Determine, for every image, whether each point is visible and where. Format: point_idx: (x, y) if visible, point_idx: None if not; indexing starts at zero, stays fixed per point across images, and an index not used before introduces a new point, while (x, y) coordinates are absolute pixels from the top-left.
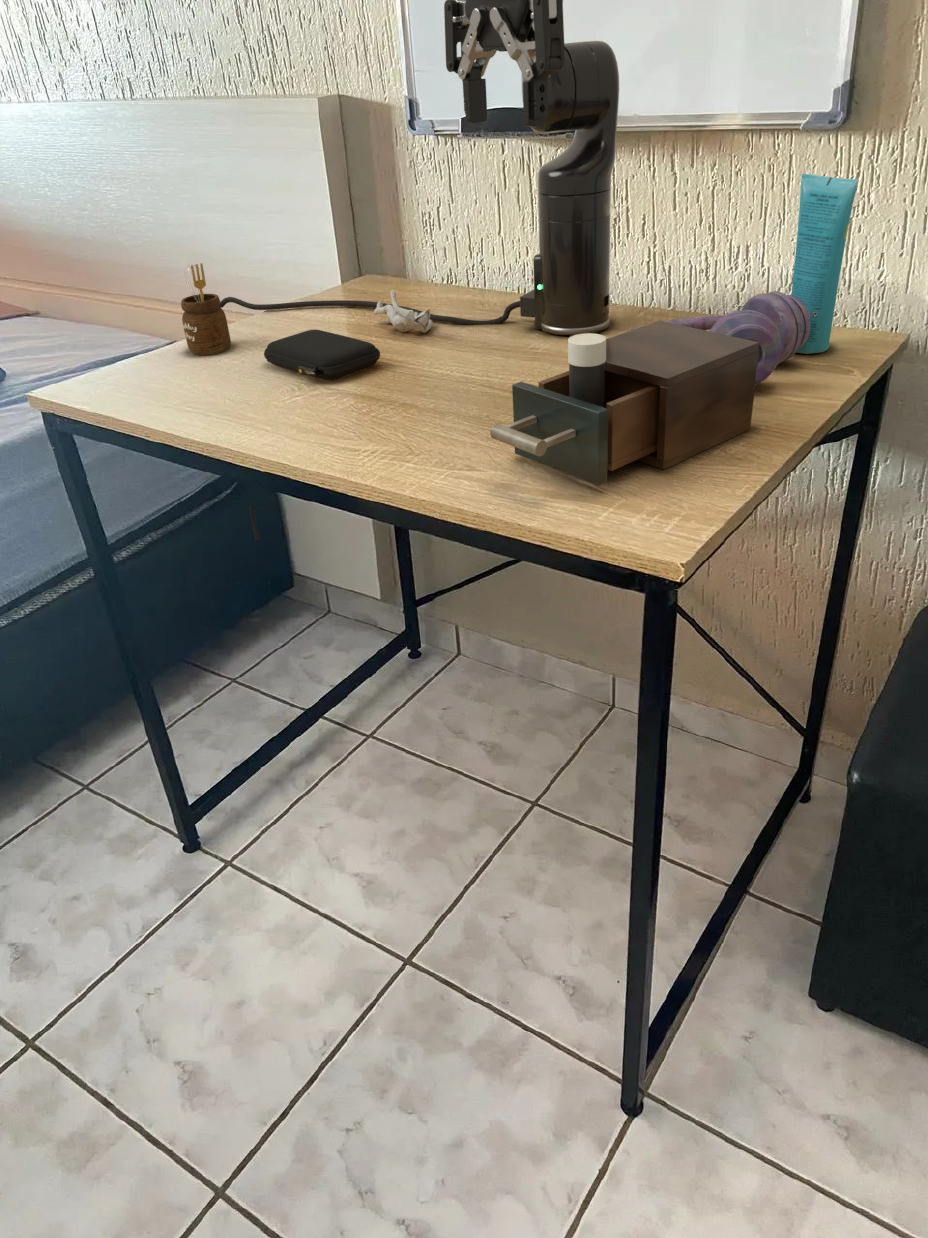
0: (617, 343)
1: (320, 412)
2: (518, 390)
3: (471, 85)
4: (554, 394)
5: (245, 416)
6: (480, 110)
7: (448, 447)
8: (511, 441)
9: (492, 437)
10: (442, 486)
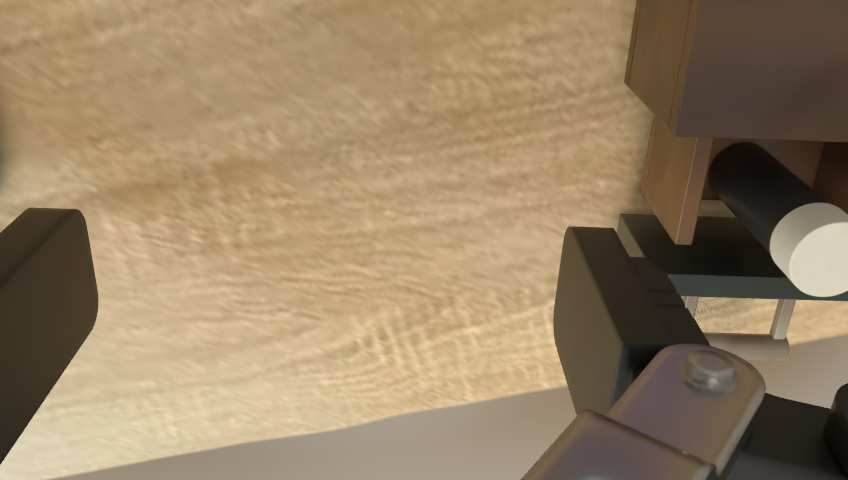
0: (743, 20)
1: (140, 292)
2: None
3: (6, 421)
4: (757, 286)
5: (60, 380)
6: (66, 276)
7: (468, 251)
8: None
9: None
10: None
